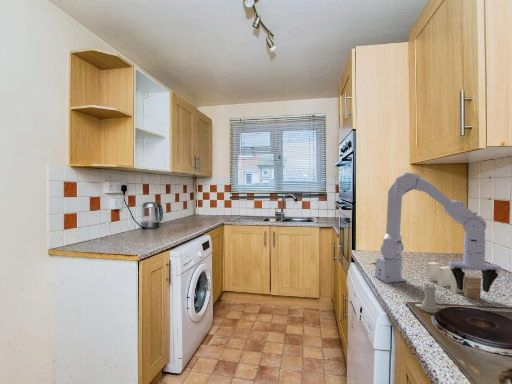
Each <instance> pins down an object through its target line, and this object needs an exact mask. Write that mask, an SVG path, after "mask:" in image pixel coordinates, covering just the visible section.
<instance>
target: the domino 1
mask: <svg viewBox="0 0 512 384" xmlns="http://www.w3.org/2000/svg"><path fill="white" fill-rule="evenodd" d="M425 267H426V277H425V279H426V281H428V282H438V267H440V263H438V262H436V261H433V262H426V266H425Z"/></svg>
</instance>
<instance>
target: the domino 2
mask: <svg viewBox="0 0 512 384" xmlns="http://www.w3.org/2000/svg"><path fill="white" fill-rule="evenodd" d="M451 272H452V271H451V269H450V268H449V267H448V266H447V265H446V266H439V267H438V281H437V286H440V287H441V288H443V287H445V288H446V287H451Z"/></svg>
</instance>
